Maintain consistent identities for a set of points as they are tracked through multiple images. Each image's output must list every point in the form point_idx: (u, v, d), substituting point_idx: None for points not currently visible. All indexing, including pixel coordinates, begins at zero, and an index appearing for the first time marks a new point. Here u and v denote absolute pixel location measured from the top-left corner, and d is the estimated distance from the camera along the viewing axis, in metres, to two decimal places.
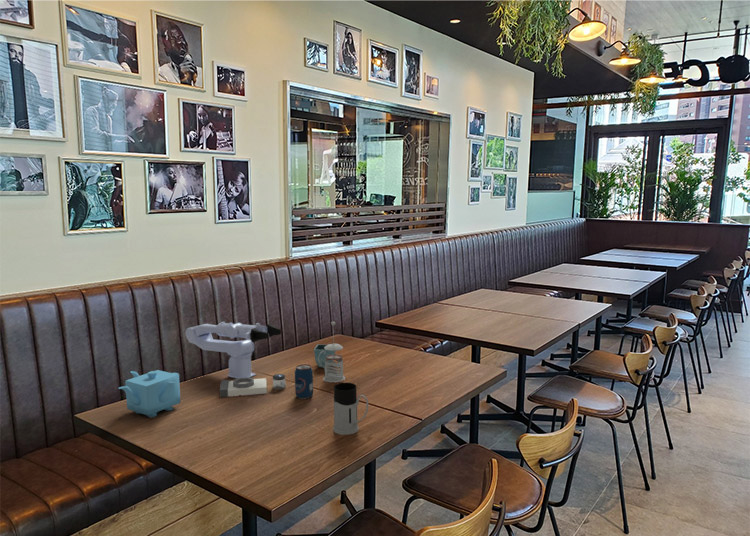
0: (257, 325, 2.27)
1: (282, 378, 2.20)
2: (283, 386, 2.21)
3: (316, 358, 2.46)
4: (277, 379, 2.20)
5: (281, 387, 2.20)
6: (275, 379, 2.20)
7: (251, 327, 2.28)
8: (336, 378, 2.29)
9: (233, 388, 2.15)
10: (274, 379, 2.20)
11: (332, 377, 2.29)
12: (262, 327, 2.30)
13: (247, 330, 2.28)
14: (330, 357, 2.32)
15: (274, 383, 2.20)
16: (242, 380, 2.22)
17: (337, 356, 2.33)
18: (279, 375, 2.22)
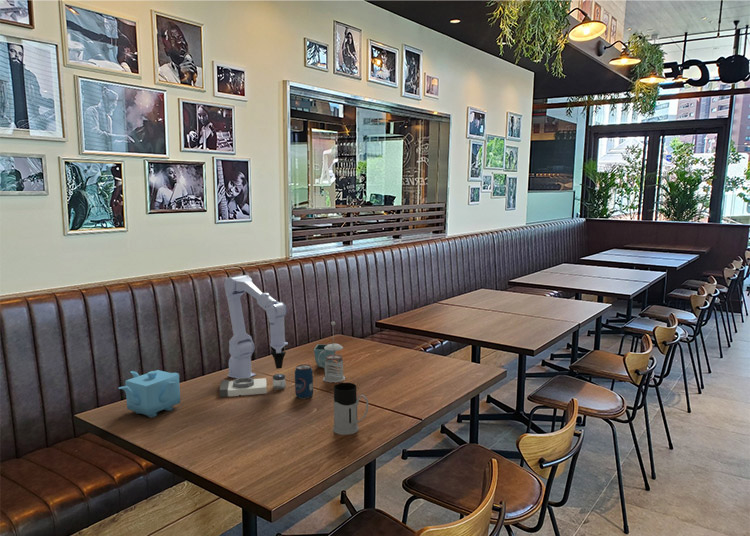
0: None
1: (282, 378, 2.20)
2: (283, 386, 2.21)
3: (316, 358, 2.46)
4: (277, 379, 2.20)
5: (281, 387, 2.20)
6: (275, 379, 2.20)
7: (283, 339, 2.19)
8: (336, 378, 2.29)
9: (233, 388, 2.15)
10: (274, 379, 2.20)
11: (332, 377, 2.29)
12: None
13: (280, 336, 2.17)
14: (330, 357, 2.32)
15: (274, 383, 2.20)
16: (242, 380, 2.22)
17: (337, 356, 2.33)
18: (279, 375, 2.22)
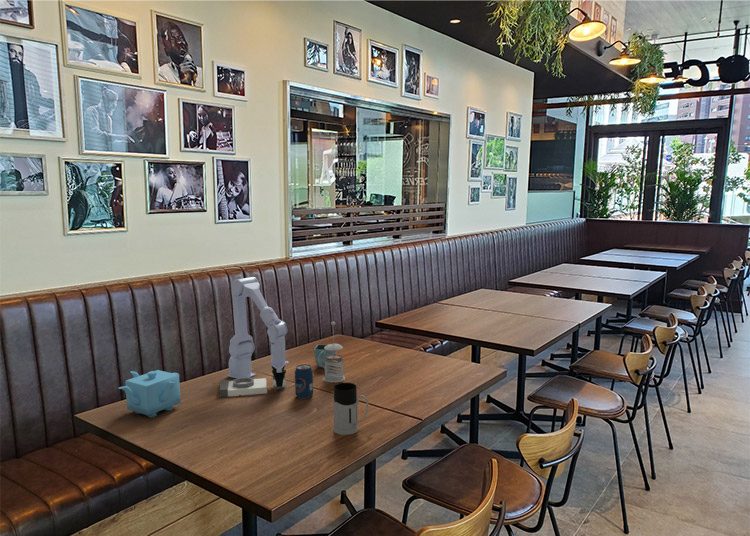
0: None
1: None
2: (283, 386, 2.21)
3: (316, 358, 2.46)
4: None
5: (281, 387, 2.20)
6: None
7: (284, 358, 2.20)
8: (336, 378, 2.29)
9: (233, 388, 2.15)
10: (274, 379, 2.20)
11: (332, 377, 2.29)
12: None
13: (281, 356, 2.18)
14: (330, 357, 2.32)
15: (274, 383, 2.20)
16: (242, 380, 2.22)
17: (337, 356, 2.33)
18: None
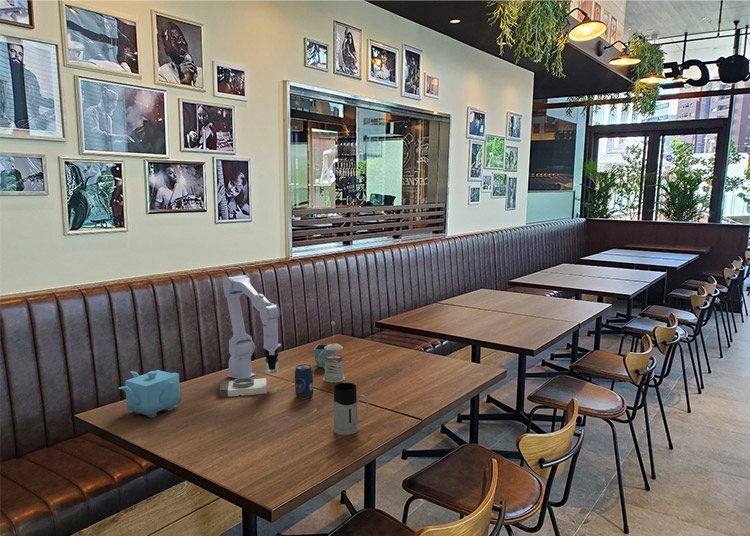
0: None
1: None
2: (276, 369, 2.20)
3: (316, 358, 2.46)
4: None
5: (274, 370, 2.19)
6: None
7: (277, 341, 2.18)
8: (336, 378, 2.29)
9: (233, 388, 2.15)
10: (267, 362, 2.19)
11: (332, 377, 2.29)
12: None
13: (274, 338, 2.17)
14: (330, 357, 2.32)
15: (267, 366, 2.19)
16: (242, 380, 2.22)
17: (337, 356, 2.33)
18: None
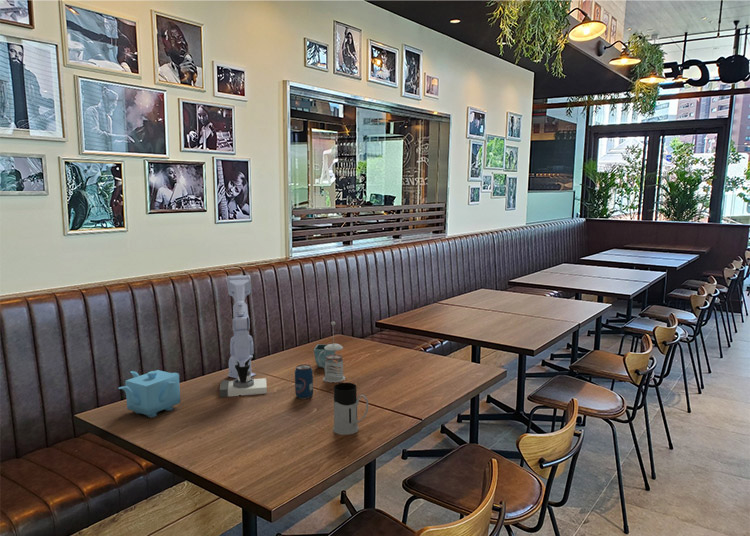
0: None
1: (247, 374, 2.17)
2: None
3: (316, 358, 2.46)
4: None
5: None
6: None
7: (248, 352, 2.16)
8: (336, 378, 2.29)
9: (233, 388, 2.15)
10: None
11: (332, 377, 2.29)
12: None
13: (245, 350, 2.15)
14: (330, 357, 2.32)
15: (239, 380, 2.17)
16: None
17: (337, 356, 2.33)
18: None
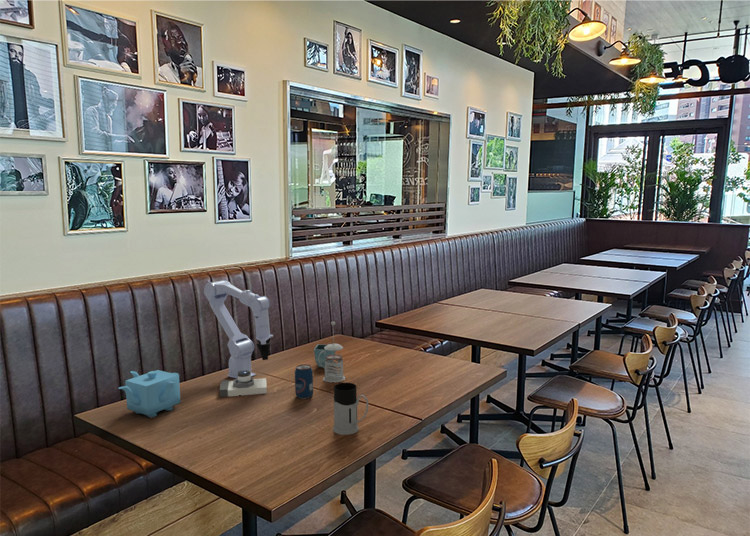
0: None
1: (247, 375, 2.17)
2: None
3: (316, 358, 2.46)
4: (242, 376, 2.16)
5: None
6: (240, 376, 2.17)
7: (268, 331, 2.26)
8: (336, 378, 2.29)
9: (233, 388, 2.15)
10: (239, 376, 2.17)
11: (332, 377, 2.29)
12: None
13: (265, 329, 2.25)
14: (330, 357, 2.32)
15: (239, 380, 2.17)
16: None
17: (337, 356, 2.33)
18: (244, 372, 2.19)
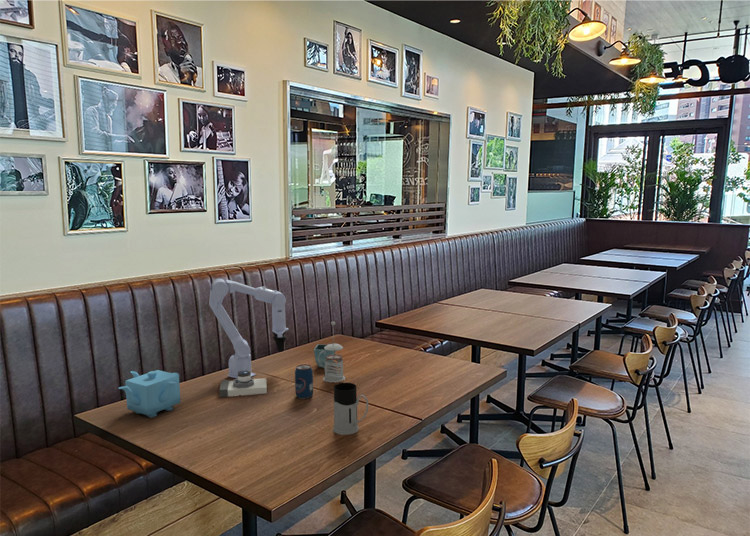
0: None
1: (247, 375, 2.17)
2: None
3: (316, 358, 2.46)
4: (242, 376, 2.16)
5: None
6: (240, 376, 2.17)
7: (284, 325, 2.38)
8: (336, 378, 2.29)
9: (233, 388, 2.15)
10: (239, 376, 2.17)
11: (332, 377, 2.29)
12: None
13: (281, 322, 2.37)
14: (330, 357, 2.32)
15: (239, 380, 2.17)
16: None
17: (337, 356, 2.33)
18: (244, 372, 2.19)
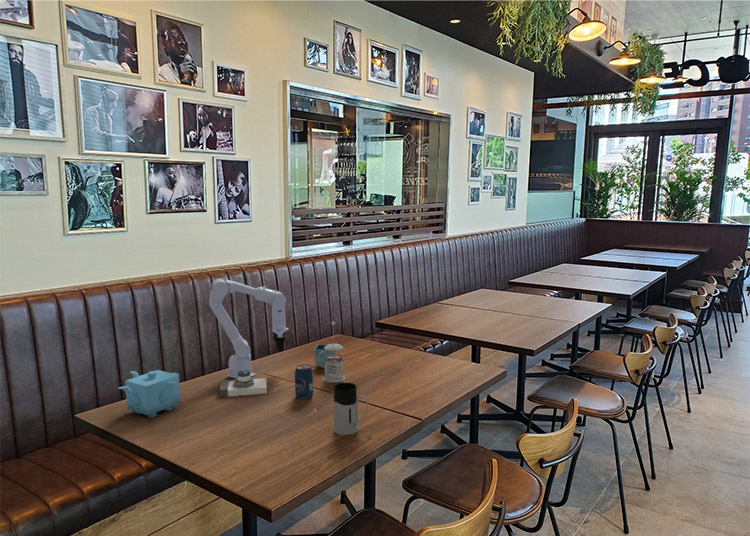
0: None
1: (247, 375, 2.17)
2: None
3: (316, 358, 2.46)
4: (242, 376, 2.16)
5: None
6: (240, 376, 2.17)
7: (284, 325, 2.38)
8: (336, 378, 2.29)
9: (233, 388, 2.15)
10: (239, 376, 2.17)
11: (332, 377, 2.29)
12: None
13: (281, 322, 2.37)
14: (330, 357, 2.32)
15: (239, 380, 2.17)
16: None
17: (337, 356, 2.33)
18: (244, 372, 2.19)
